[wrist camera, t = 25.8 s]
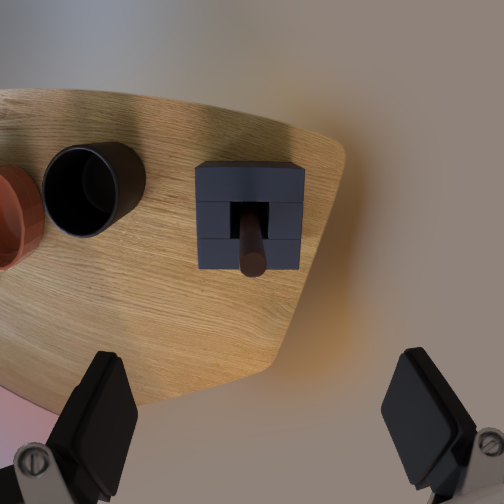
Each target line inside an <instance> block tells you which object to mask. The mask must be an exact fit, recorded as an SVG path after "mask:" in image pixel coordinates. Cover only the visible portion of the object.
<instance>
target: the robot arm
mask: <svg viewBox="0 0 504 504" xmlns="http://www.w3.org/2000/svg"><path fill="white" fill-rule="evenodd" d="M381 413H382V416H383V418H384V421H385V423H386V425H387V428H388V430H389V433H390V435H391V437H392V439H393V442H394V444H395V447H396V449H397V452H398V454H399V457H400V459H401V461H402V464H403V466H404V469H405V471H406V474H407V476H408V479H409V481H410V483H411V484H412V485H415V487H416V490H420V489H423V488H426V487H429V486H430V487H431V490H432V493H431V496H430V498H429V501H428V503H427V504H504V433H502V432H501V431H500V430H498V429H495V428H489V427H488V428H484V429H482V430H480V431H479V432H477V431H476V427H477V426H476V425H475V423H474V421H473V420H472V418H471V417H470V415H469V414H468V412H467V411H466V409H465V408H464V406H463V405H462V403H461V402H460V400H459V399H458V397H457V396H456V394H455V393H454V391H453V390H452V388H451V387H450V385H449V384H448V382H447V381H446V380H445V378H444V377H443V375H442V374H441V372H440V371H439V370H438V368H437V367H436V365H435V364H434V363H433V361H432V360H431V358H430V357H429V356H428V355H427V353H426V352H425V350H424V349H423V348H422V347H417V348H409V349H406V350H405V351H404V353H403V354H401V355H400V357H399V361H398V363H397V366H396V369H395V372H394V374H393V377H392V380H391V383H390V385H389V388H388V390H387V393H386V395H385V398H384V400H383V403H382V406H381ZM137 418H138V411H137V407H136V404H135V401H134V398H133V395H132V392H131V389H130V386H129V382H128V379H127V376H126V372H125V369H124V365H123V362H122V359H121V358H120V357H117V354H116V353H114V352H106V351H98V352H97V354H96V355H95V357H94V359H93V361H92V362H91V364H90V366H89V368H88V370H87V371H86V373H85V375H84V377H83V379H82V380H81V382H80V384H79V385H78V386H76V387H75V389H74V390H73V392H72V394H71V395H70V397H69V399H68V401H67V403H66V405H65V407H64V409H63V410H62V412H61V414H60V416H59V418H58V420H57V422H56V424H55V426H54V428H53V430H52V432H51V434H50V436H49V438H48V440H47V442H46V444H45V445H44V444H42V443H36V442H32V443H27V444H25V445H23V446H22V447H20V448H19V449H18V451H17V452H16V454H15V456H14V461H13V462H14V464H13V465H10V466H8V467H5V468H2V469H0V504H97V502H98V500H102V501H105V502H110V498H111V496H115V495H116V493H117V489H118V486H119V481H120V478H121V474H122V471H123V467H124V464H125V460H126V456H127V453H128V450H129V446H130V443H131V439H132V436H133V432H134V429H135V426H136V422H137Z"/></svg>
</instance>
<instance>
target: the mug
mask: <svg viewBox="0 0 504 504" xmlns="http://www.w3.org/2000/svg"><path fill="white" fill-rule="evenodd" d="M145 184H146V175H145V170H144V166H143V164H142V161H141V159H140V158H139V156H138V155H137V154H136V153H135V152H134V151H133V150H132V149H131V148H130V147H128V146H126V145H124V144H122V143H118V142H103V143H92V144H81V145H73V146H70V147H67V148H65V149H63V150H62V151H60V152H59V153H58V154H56V156H55V157H54V158H53V159H52V160H51V162H50V163H49V165H48V167H47V169H46V171H45V174H44V177H43V182H42V186H41V187H42V198H43V203H44V206H45V209H46V212H47V214H48V216H49V218H50V219H51V221H52V222H53V223H54V224H55V226H56V227H57V228H59V229H60V230H61V231H62V232H64V233H66V234H67V235H70V236H73V237H77V238H89V237H93V236H96V235H98V234H100V233H101V232H103V231H104V230H106V229H107V228H108V227H110V226H111V225H112V224H114V223H115V222H116V221H118V220H119V219H121V218H122V217H123V216H125V215H126V214H128V213H129V212H130V211H132V210H133V209H134V208H135V207H136V206H137V205H138V203H139V202H140V200H141V198H142V196H143V193H144V190H145Z"/></svg>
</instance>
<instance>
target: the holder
mask: <svg viewBox="0 0 504 504" xmlns="http://www.w3.org/2000/svg"><path fill="white" fill-rule="evenodd" d="M304 182H305V169H304V168H302V167H300V166H298V165H296V164H294V163H292V162H267V161H205V162H204V163H202V164H200V165H199V166H197V167H195V190H196V225H197V250H198V269H240V268H239V242H240V218H233V201H253V202H263V218H258V219H259V224H260V229H261V234H262V239H263V245H264V250H265V255H266V260H267V268H266V270H298V269H299V261H300V248H301V234H302V218H303V201H304Z"/></svg>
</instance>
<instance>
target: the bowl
mask: <svg viewBox="0 0 504 504" xmlns="http://www.w3.org/2000/svg"><path fill="white" fill-rule="evenodd" d="M43 227H44V212H43V204H42V200H41V197H40V194H39V191H38V189H37V186H36V185H35V183H34V182H33V180H32V179H31V177H30V176H29V175H28V174H27V173H26V172H25V171H23V170H22V169H21V168H19V167H16V166H13V165H4V166H0V271H6V270H8V269H10V268H12V267H14V266H15V265H17V264H18V263H20V262H21V261H22V260H24V259H25V258H27V257H28V256H30V255H31V254H32V253H33V252H34V251H35V249H36V248H37V247H38V246H39V243H40V240H41V237H42V235H43Z"/></svg>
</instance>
